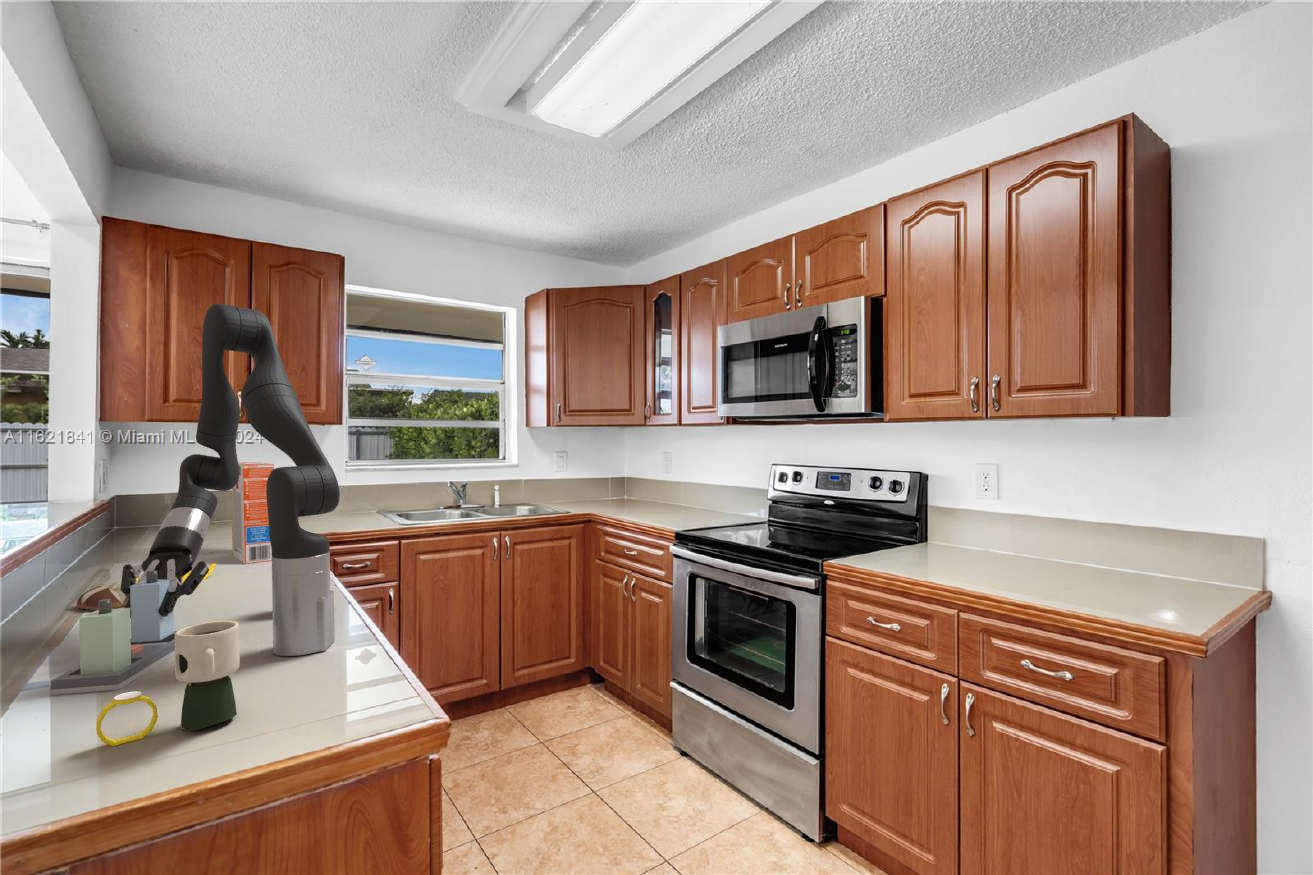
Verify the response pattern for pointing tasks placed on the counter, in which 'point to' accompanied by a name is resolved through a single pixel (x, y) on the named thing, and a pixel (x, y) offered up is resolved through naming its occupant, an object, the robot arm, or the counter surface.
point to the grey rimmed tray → (141, 662)
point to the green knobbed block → (105, 639)
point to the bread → (103, 597)
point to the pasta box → (251, 514)
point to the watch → (121, 700)
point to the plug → (149, 609)
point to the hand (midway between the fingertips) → (146, 614)
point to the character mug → (207, 672)
